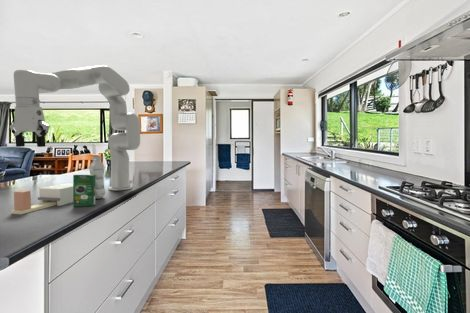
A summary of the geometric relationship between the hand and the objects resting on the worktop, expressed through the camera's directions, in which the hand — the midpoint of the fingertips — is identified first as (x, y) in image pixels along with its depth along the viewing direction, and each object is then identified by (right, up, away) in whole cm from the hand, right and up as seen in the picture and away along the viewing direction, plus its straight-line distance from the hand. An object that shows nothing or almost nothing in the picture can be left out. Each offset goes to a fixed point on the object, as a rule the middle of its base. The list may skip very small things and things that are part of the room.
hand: (30, 146), depth 109 cm
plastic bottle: (+17, -24, +19) cm, 35 cm away
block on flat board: (+3, -25, +1) cm, 25 cm away
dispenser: (+5, -24, +12) cm, 27 cm away
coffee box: (+19, -25, +5) cm, 32 cm away
